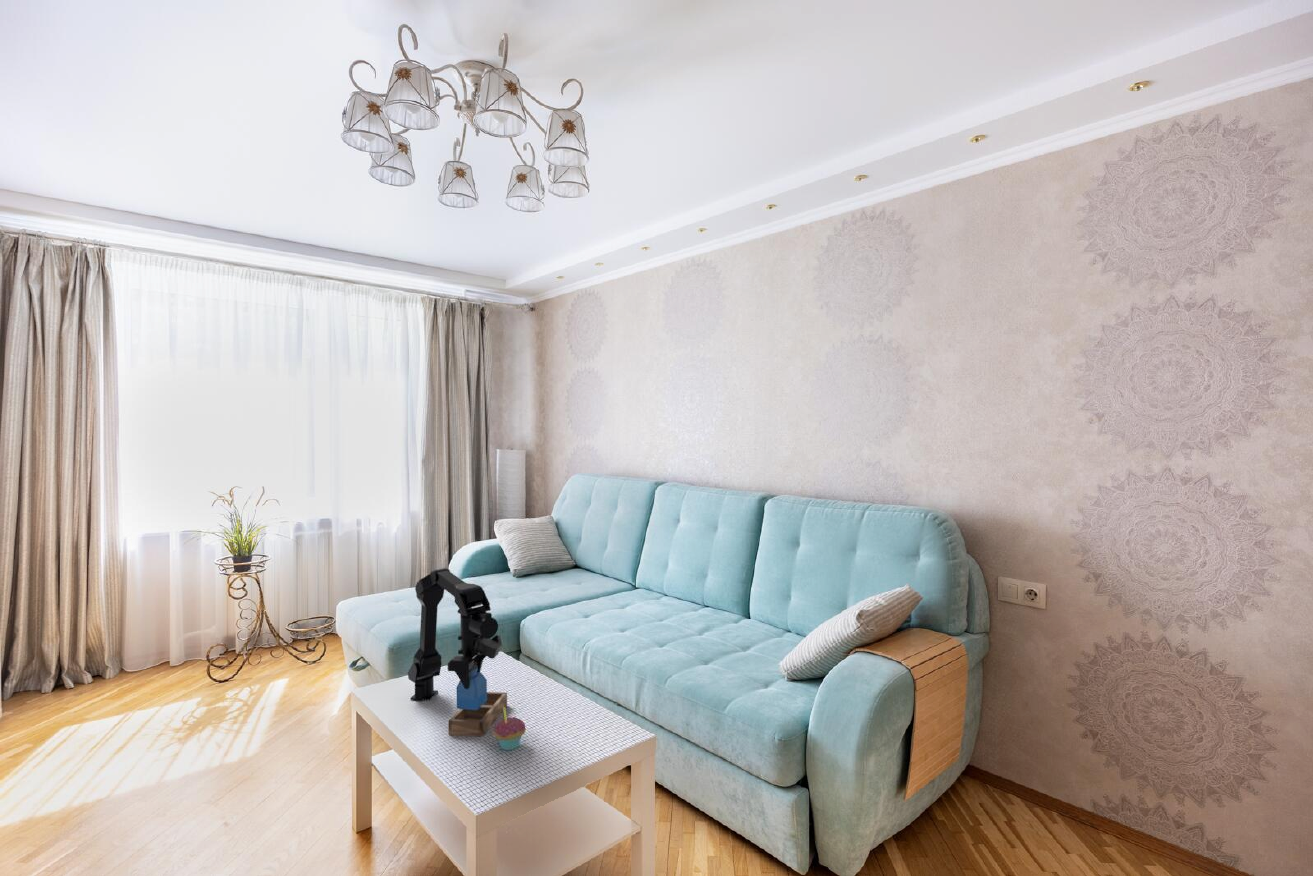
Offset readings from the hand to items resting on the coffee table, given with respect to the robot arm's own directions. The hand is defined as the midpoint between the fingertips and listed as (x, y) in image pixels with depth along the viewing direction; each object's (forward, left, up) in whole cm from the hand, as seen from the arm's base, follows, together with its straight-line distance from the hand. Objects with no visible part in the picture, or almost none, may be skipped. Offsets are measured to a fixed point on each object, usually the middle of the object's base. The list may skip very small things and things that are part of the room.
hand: (471, 683), depth 177 cm
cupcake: (+9, +15, -13) cm, 22 cm away
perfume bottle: (0, 0, -6) cm, 6 cm away
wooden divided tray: (-5, 0, -13) cm, 13 cm away
